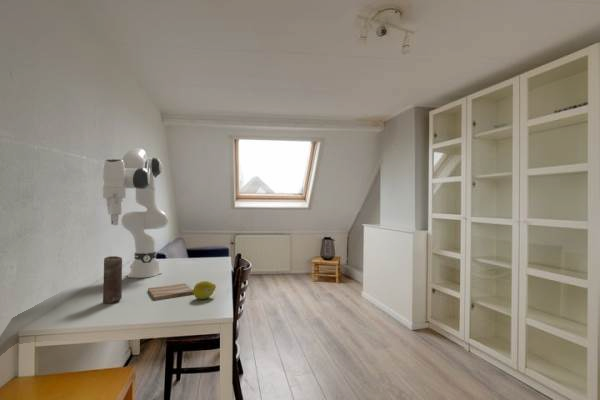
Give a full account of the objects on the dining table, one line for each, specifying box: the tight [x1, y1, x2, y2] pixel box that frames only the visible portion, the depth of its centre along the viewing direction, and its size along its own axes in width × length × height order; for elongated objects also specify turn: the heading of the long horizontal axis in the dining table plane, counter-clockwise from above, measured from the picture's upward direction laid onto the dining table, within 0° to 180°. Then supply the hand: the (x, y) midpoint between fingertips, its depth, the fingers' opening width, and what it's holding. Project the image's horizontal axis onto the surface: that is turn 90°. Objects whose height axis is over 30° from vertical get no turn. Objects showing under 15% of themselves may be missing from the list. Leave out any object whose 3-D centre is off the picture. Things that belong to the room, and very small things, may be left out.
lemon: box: [192, 280, 217, 300], centre depth 152 cm, size 11×8×8 cm
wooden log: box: [102, 255, 123, 304], centre depth 148 cm, size 8×7×20 cm
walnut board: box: [147, 282, 194, 301], centre depth 162 cm, size 18×18×2 cm
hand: (114, 224), depth 148 cm, fingers open, 8 cm apart
